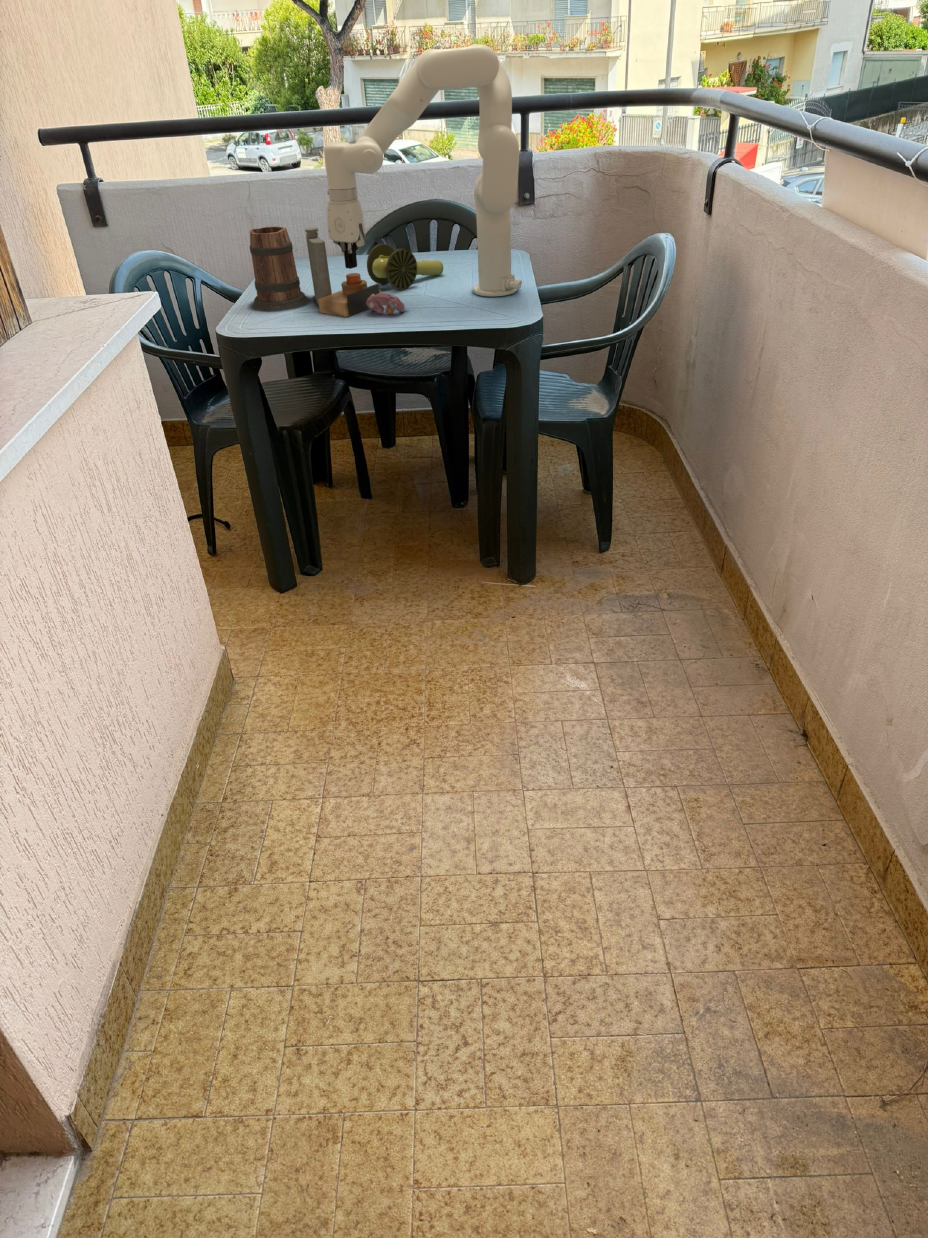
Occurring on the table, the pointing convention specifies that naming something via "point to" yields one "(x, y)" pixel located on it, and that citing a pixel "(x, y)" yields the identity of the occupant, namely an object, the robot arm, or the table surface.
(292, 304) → the tankard
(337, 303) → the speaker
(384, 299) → the pink lumpy mass
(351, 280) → the power button
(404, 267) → the cannon
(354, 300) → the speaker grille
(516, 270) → the table surface
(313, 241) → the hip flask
